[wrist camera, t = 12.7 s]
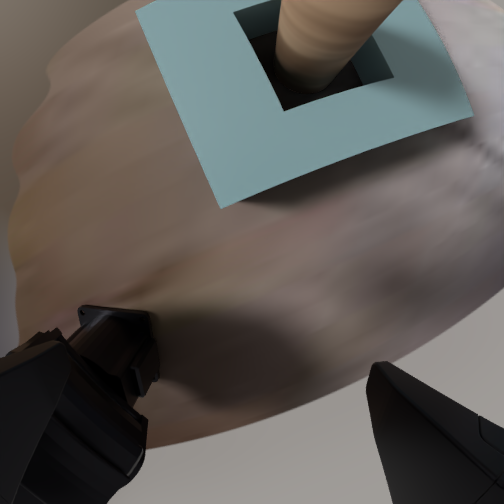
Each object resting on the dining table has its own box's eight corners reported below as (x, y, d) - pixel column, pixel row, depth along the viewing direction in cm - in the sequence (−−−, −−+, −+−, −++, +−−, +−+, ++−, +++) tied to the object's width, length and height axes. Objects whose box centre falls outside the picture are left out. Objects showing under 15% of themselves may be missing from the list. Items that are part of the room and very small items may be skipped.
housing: (230, 200, 19) (220, 209, 15) (158, 38, 16) (135, 11, 12) (438, 122, 17) (474, 115, 13) (360, -23, 14) (376, -53, 10)
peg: (296, 104, 17) (350, 11, 5) (261, 57, 17) (261, -71, 5) (345, 77, 17) (442, -15, 5) (311, 32, 16) (360, -90, 4)
